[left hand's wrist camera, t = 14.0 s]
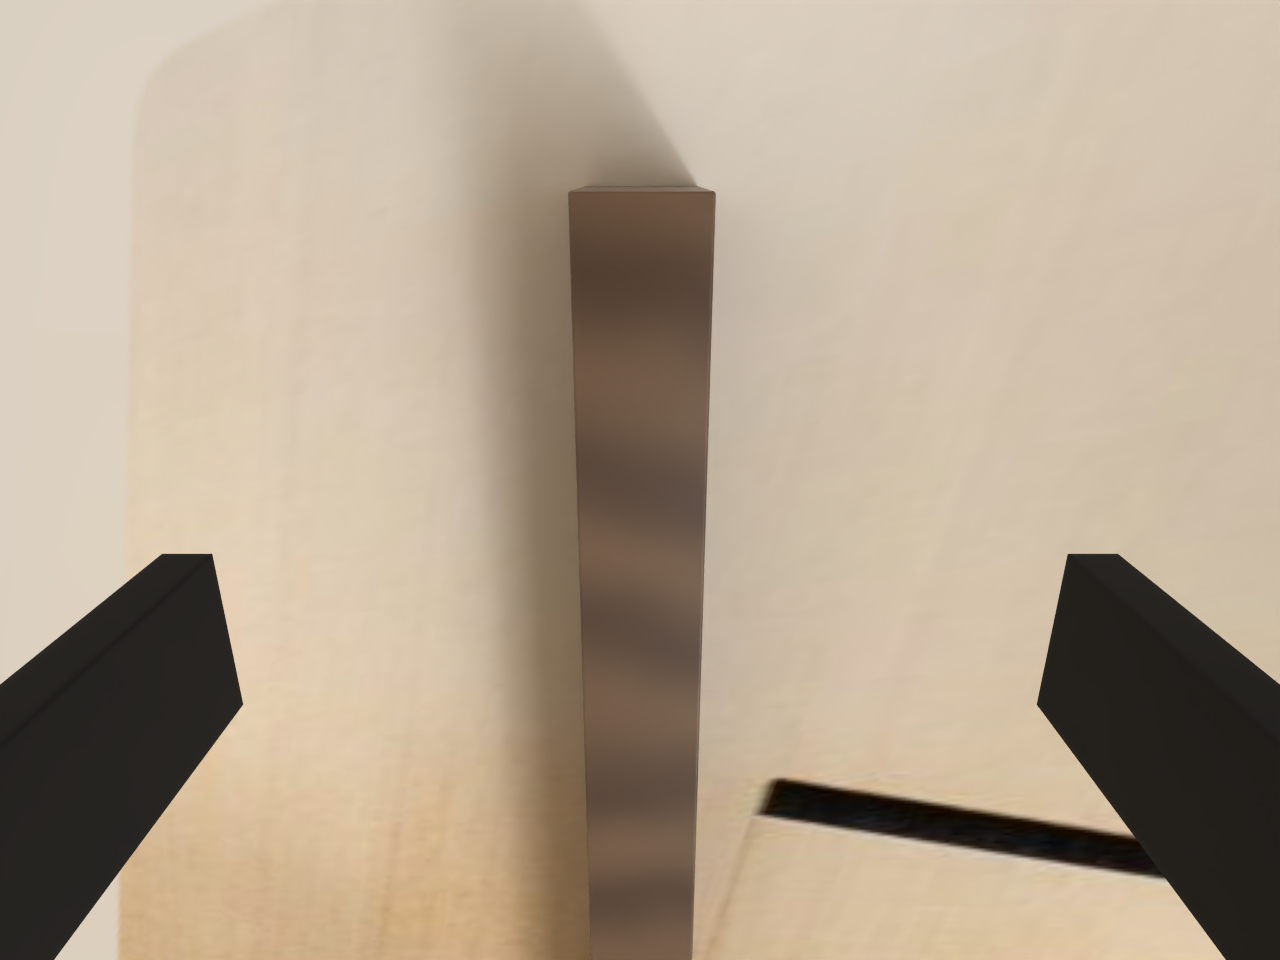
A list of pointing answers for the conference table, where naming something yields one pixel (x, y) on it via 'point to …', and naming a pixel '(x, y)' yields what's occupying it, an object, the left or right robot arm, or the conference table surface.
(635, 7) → the conference table surface
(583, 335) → the beam
